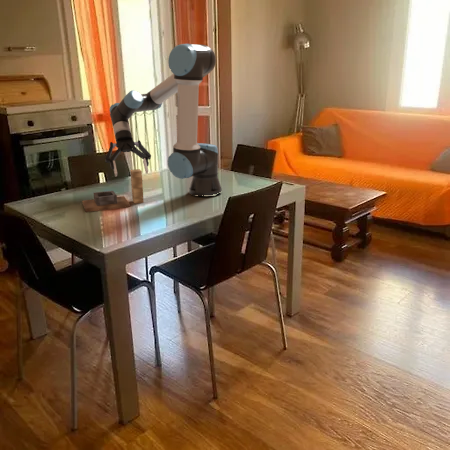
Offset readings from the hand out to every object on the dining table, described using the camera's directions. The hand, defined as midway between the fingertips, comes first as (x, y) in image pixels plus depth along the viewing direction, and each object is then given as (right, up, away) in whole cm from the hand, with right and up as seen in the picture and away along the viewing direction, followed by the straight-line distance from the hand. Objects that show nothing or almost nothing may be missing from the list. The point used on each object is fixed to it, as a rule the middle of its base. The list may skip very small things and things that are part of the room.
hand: (131, 173), depth 201 cm
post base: (-10, -14, -6) cm, 18 cm away
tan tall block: (+3, -12, -1) cm, 13 cm away
